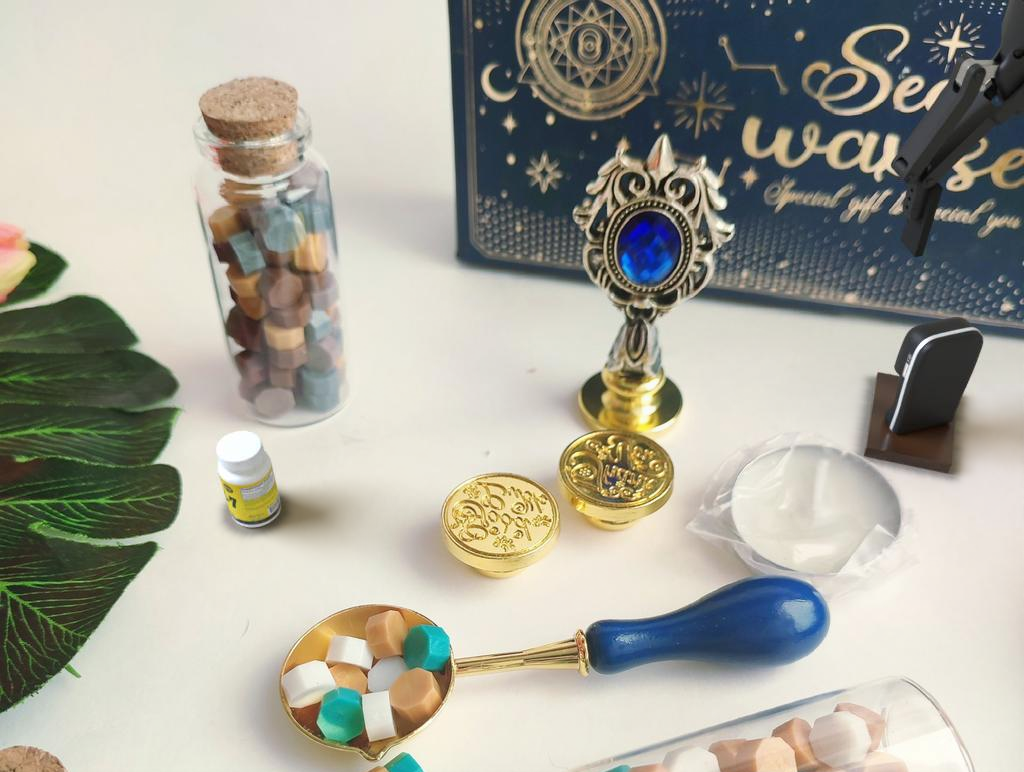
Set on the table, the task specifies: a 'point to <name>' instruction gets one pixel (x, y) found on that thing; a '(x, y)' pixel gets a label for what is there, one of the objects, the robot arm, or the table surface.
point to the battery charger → (933, 373)
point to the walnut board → (905, 434)
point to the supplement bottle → (248, 479)
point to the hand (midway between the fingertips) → (983, 237)
